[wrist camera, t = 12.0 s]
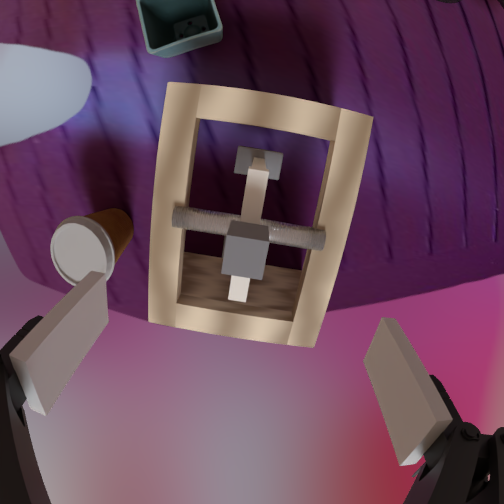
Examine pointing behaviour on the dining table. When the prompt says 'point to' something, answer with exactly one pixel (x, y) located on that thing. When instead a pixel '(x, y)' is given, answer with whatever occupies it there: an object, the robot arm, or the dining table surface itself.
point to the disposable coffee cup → (90, 243)
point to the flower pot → (178, 25)
